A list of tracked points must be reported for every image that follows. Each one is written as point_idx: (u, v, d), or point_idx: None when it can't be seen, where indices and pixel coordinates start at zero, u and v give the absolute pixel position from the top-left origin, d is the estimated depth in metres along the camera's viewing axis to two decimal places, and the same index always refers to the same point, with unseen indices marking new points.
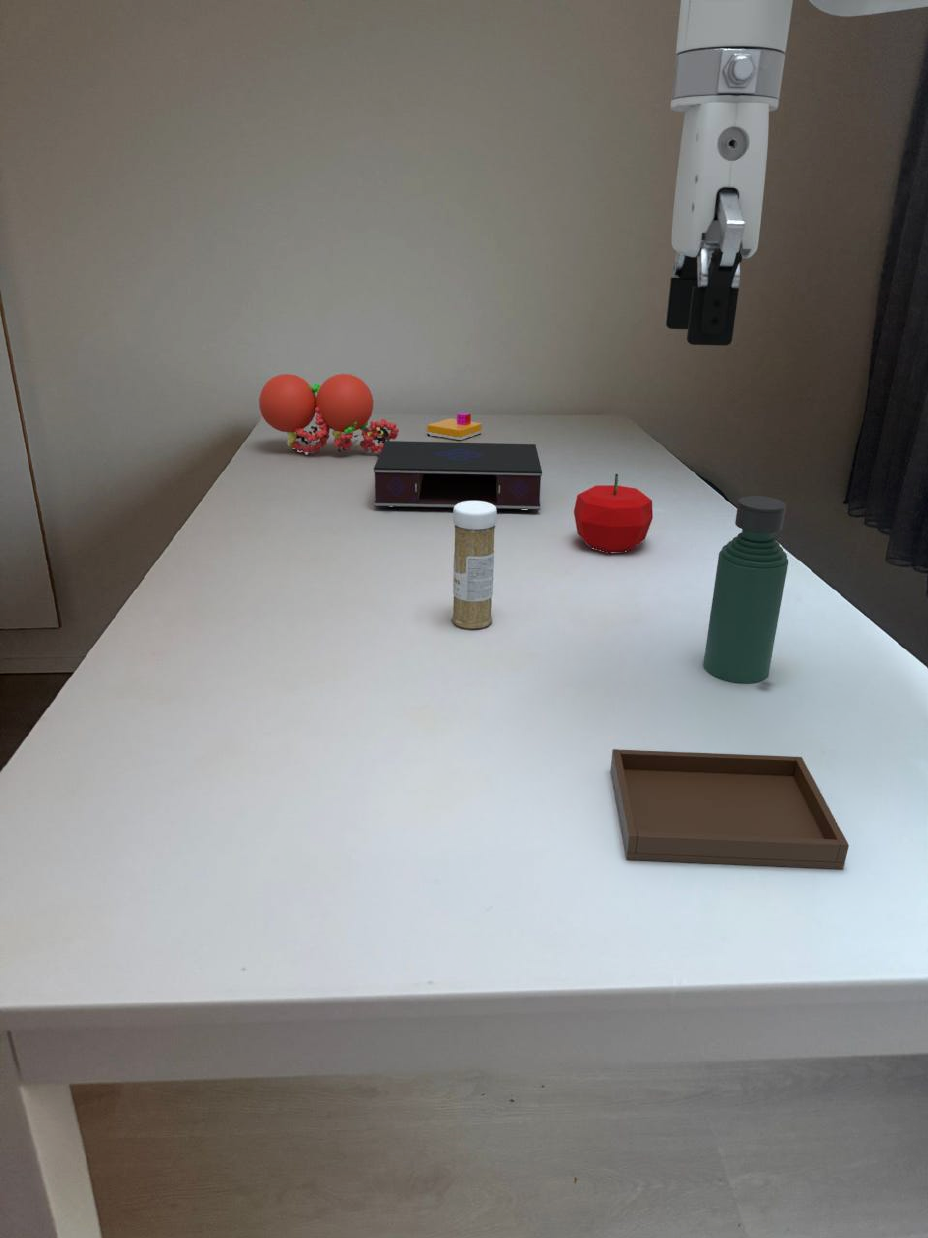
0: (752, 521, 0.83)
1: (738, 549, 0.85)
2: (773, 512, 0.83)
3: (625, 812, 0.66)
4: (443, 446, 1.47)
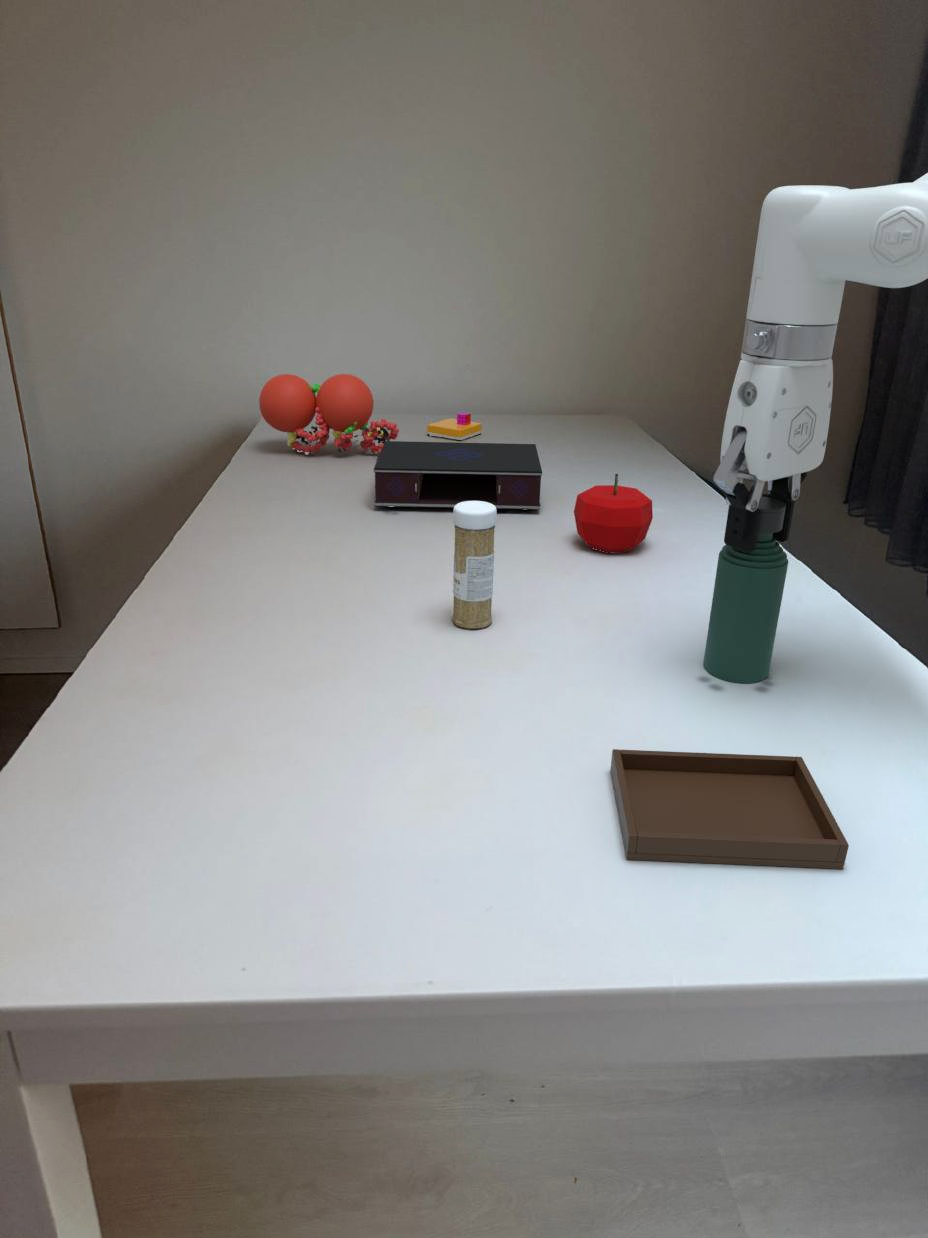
0: None
1: (738, 549, 0.85)
2: (773, 512, 0.83)
3: (625, 812, 0.66)
4: (443, 446, 1.47)
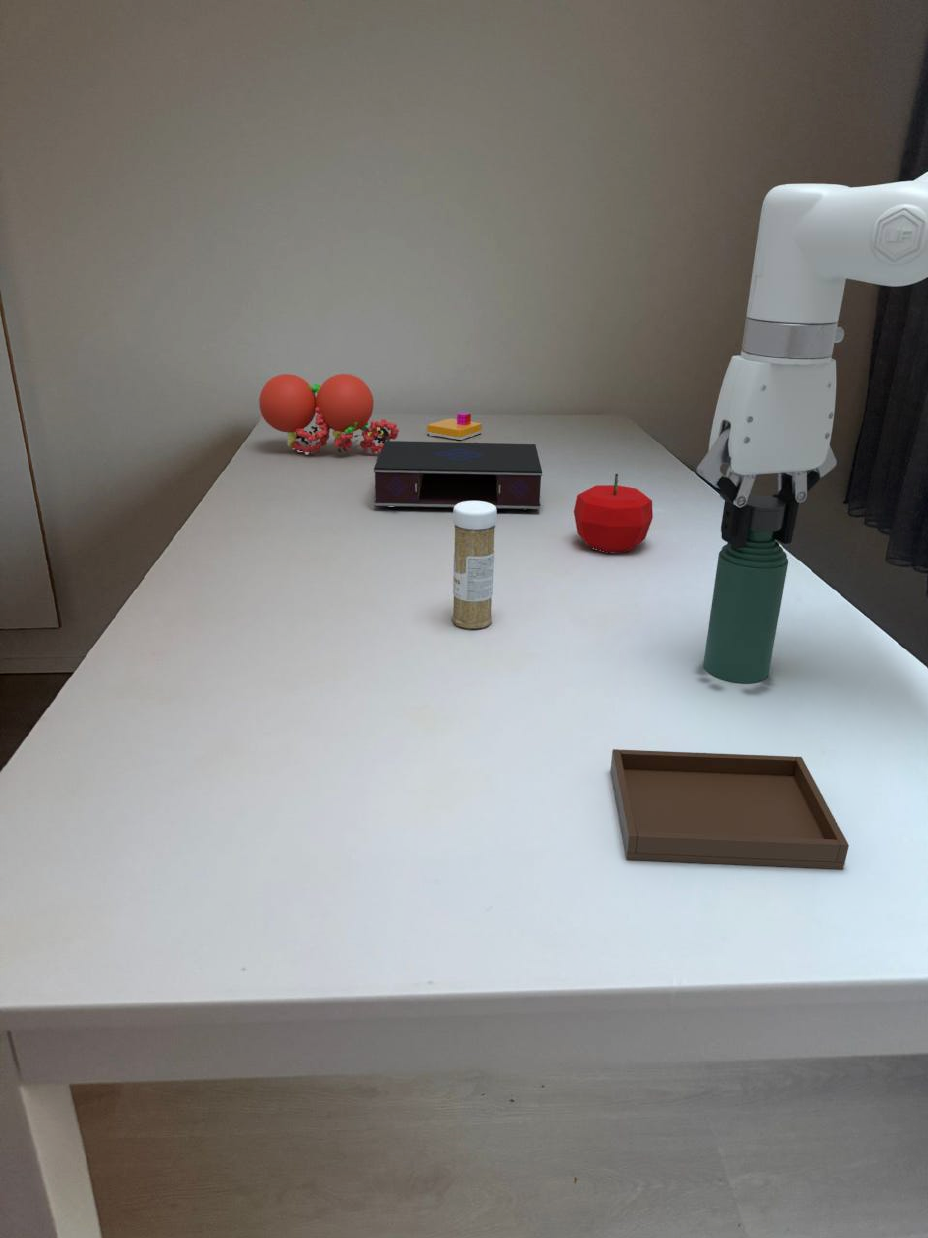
0: None
1: (738, 549, 0.85)
2: None
3: (625, 812, 0.66)
4: (443, 446, 1.47)
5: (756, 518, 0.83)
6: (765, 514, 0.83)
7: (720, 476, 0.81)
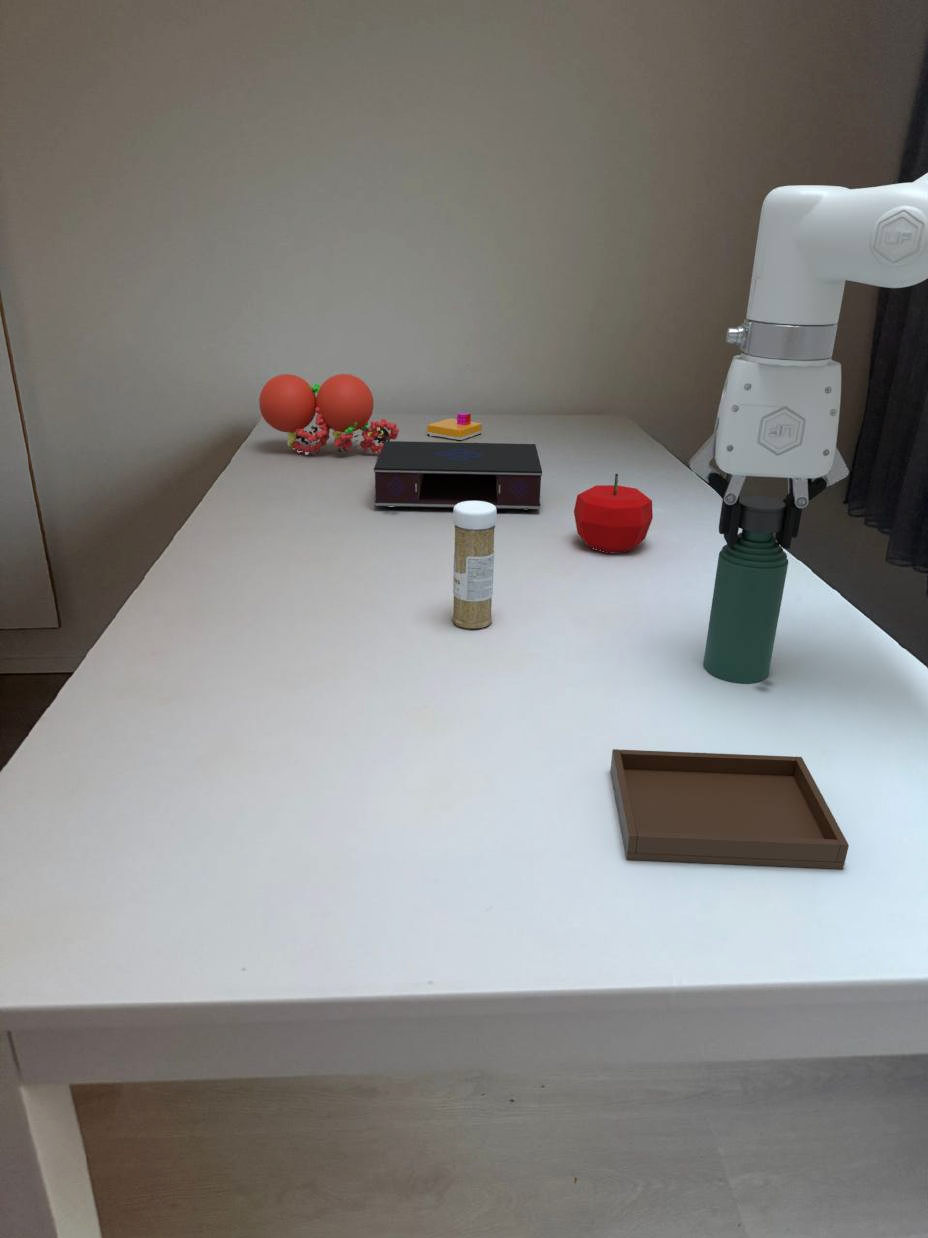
0: None
1: (738, 549, 0.85)
2: (755, 511, 0.83)
3: (625, 812, 0.66)
4: (443, 446, 1.47)
5: None
6: None
7: None
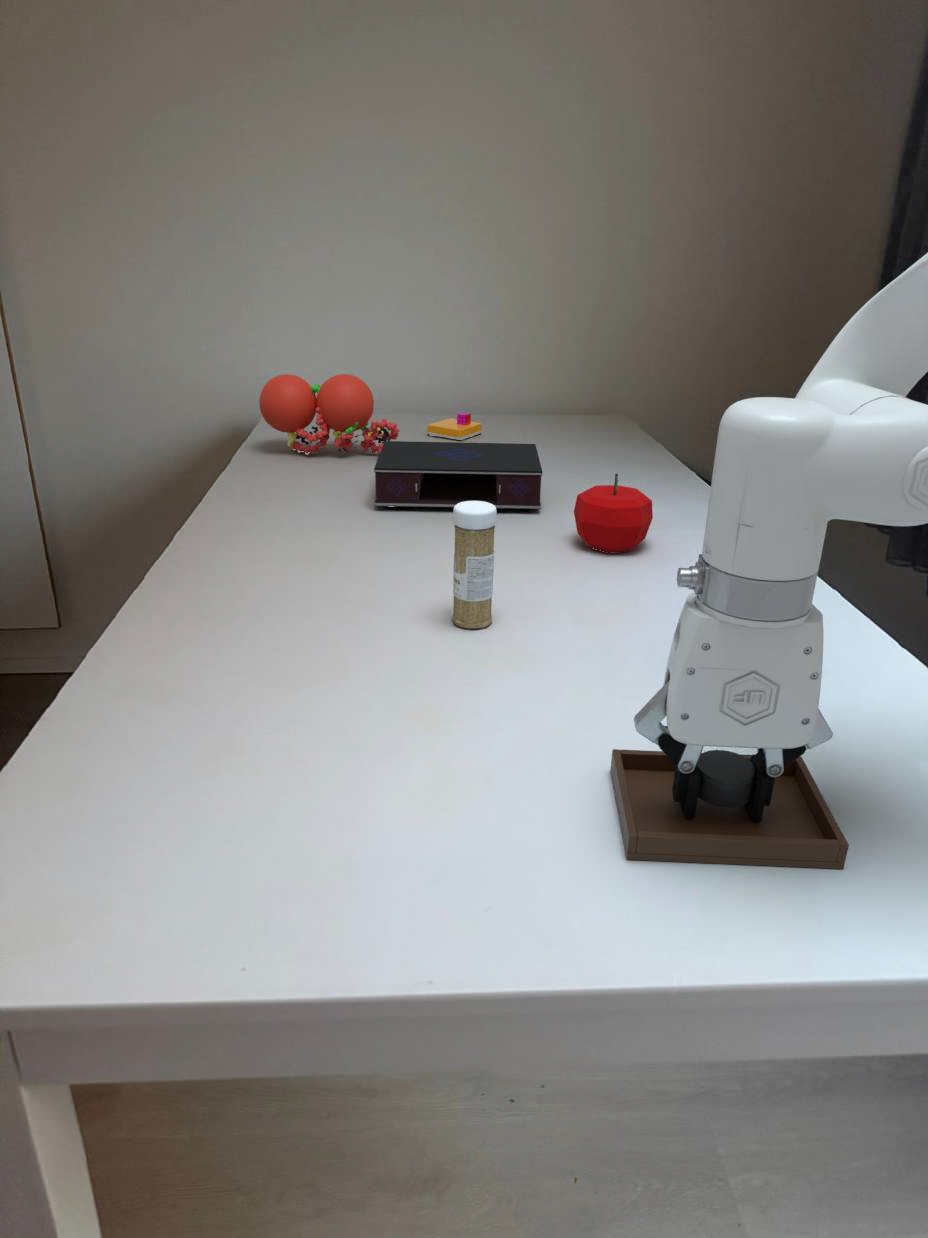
0: None
1: None
2: (718, 783, 0.66)
3: (625, 812, 0.66)
4: (443, 446, 1.47)
5: None
6: None
7: None
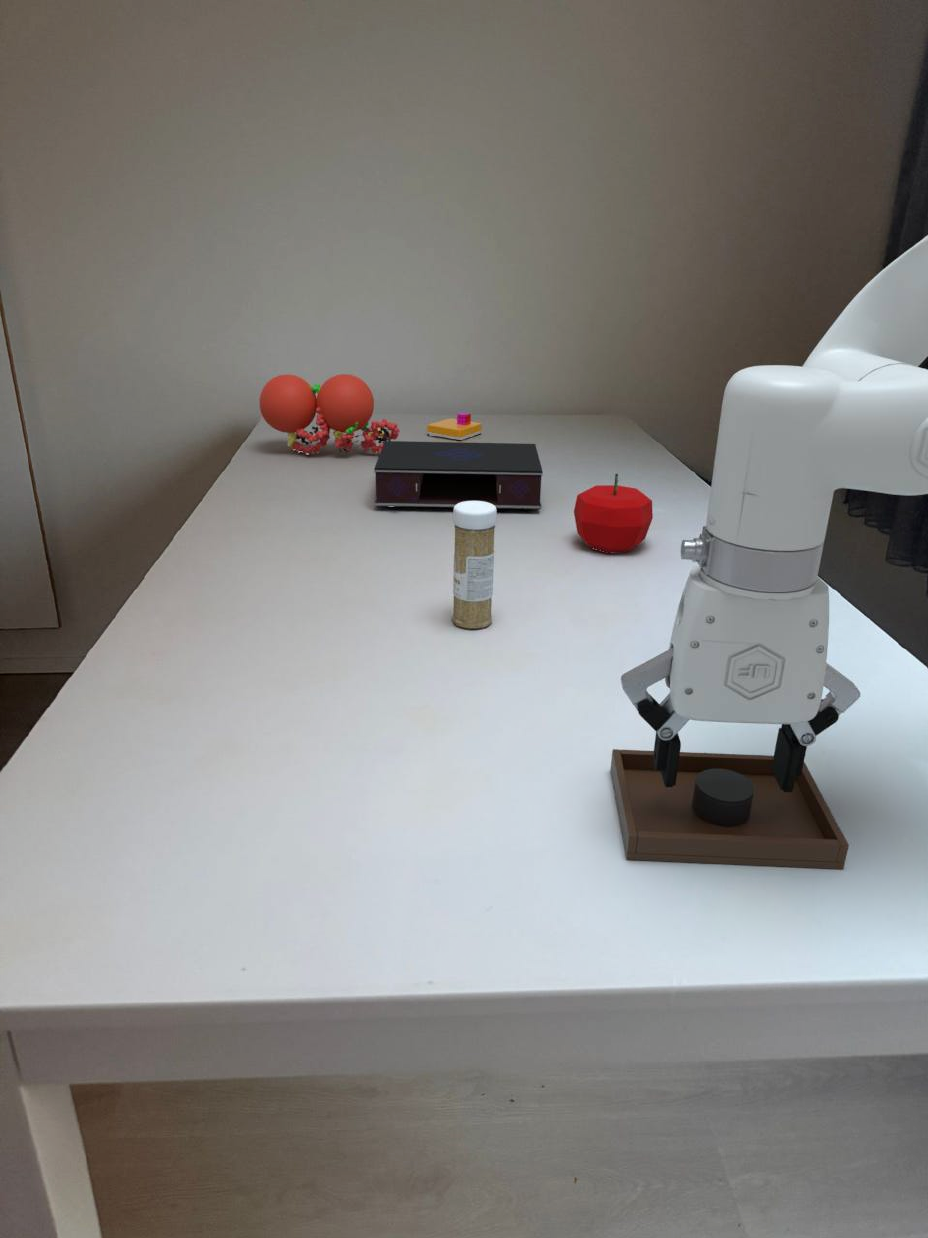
0: (697, 802, 0.68)
1: None
2: (717, 802, 0.66)
3: (625, 812, 0.66)
4: (443, 446, 1.47)
5: None
6: None
7: None
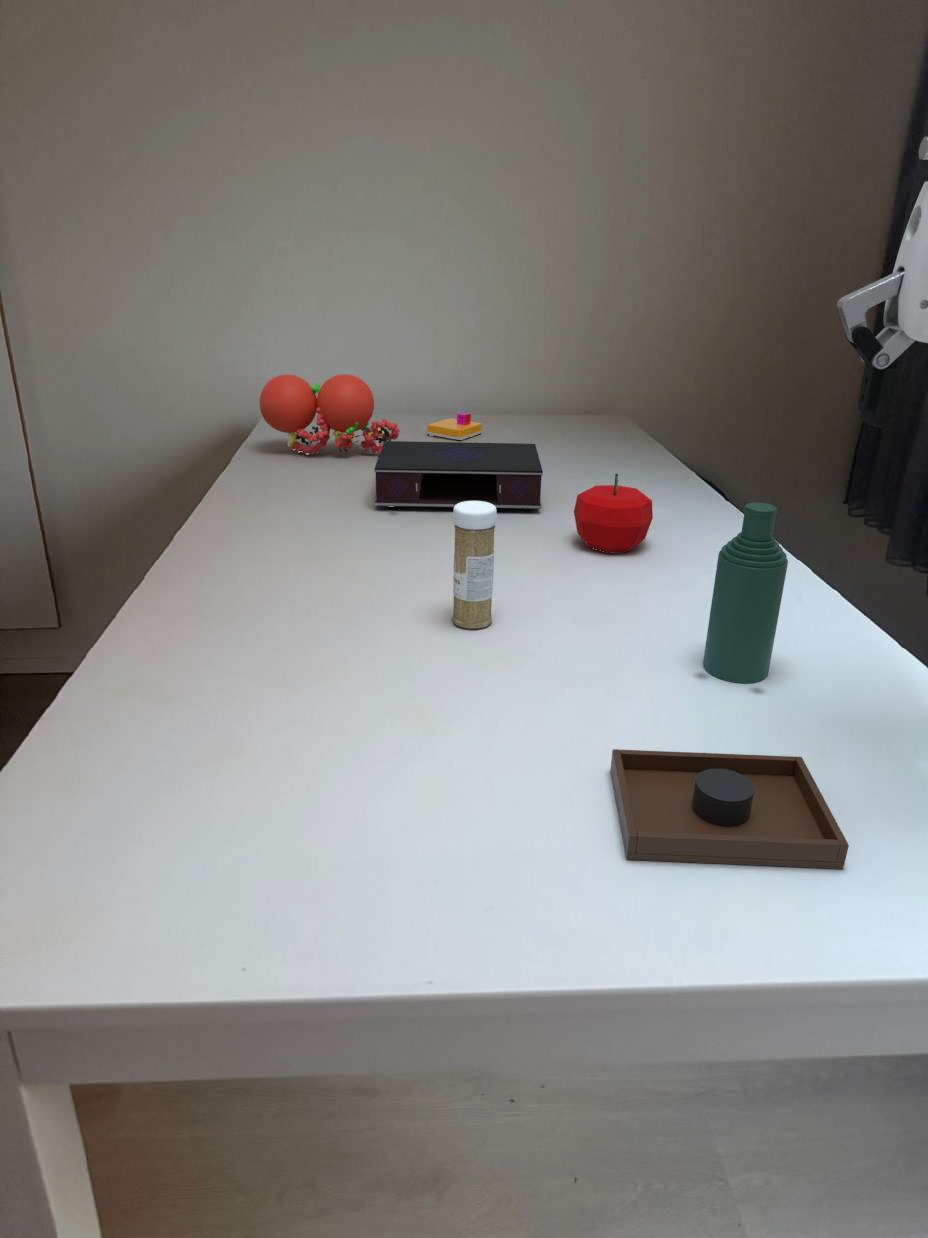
0: (697, 802, 0.68)
1: (738, 549, 0.85)
2: (717, 802, 0.66)
3: (625, 812, 0.66)
4: (443, 446, 1.47)
5: None
6: None
7: None
